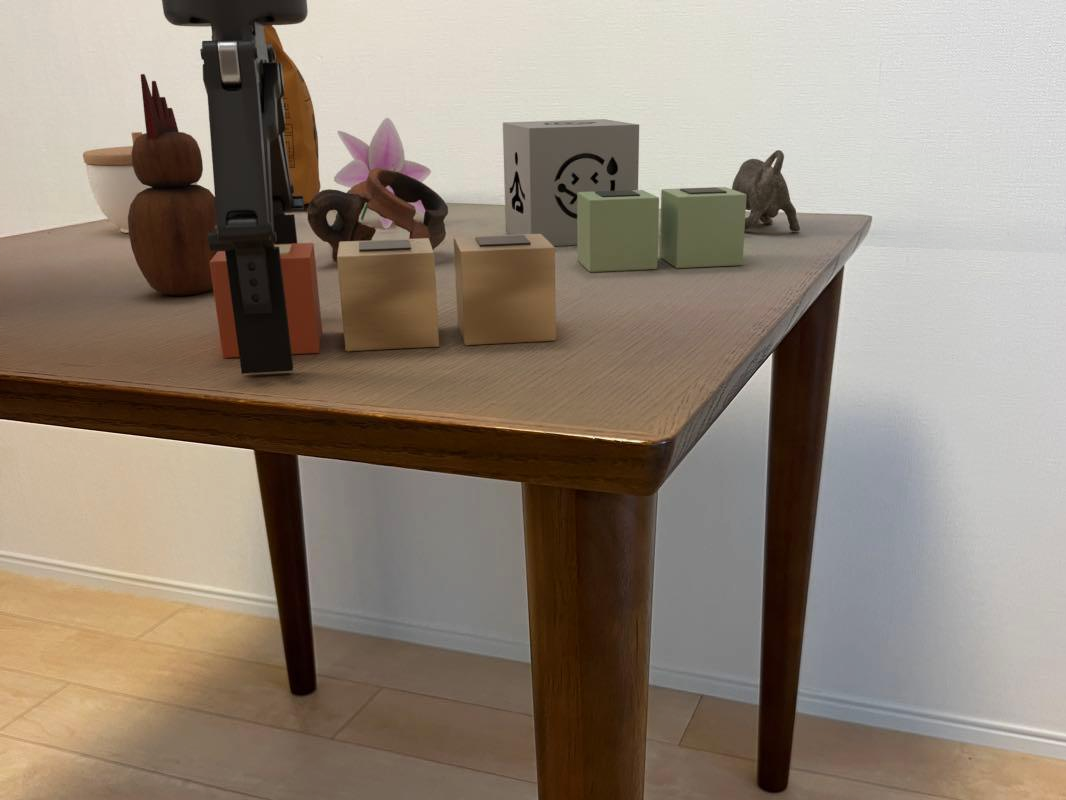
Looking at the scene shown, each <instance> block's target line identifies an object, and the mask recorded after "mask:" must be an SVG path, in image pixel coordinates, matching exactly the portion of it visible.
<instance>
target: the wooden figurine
mask: <svg viewBox="0 0 1066 800" xmlns="http://www.w3.org/2000/svg"><path fill="white" fill-rule="evenodd" d="M140 84H141V94H142V104H143V113H144V114H143V115H144V124H145V125H144V126H145V132H146V133H145V132H144V133H142V135H140V136H139V137H137V138H136V140H135V142H134V143H133V142H132V146H133V148H132V164H133V168H134V172H135V174H136V176H137V178H138V180H139V181H140V182H141V183H142V184H143V185H147V186H150V187H151V188H147V189H145V190H143V191H141V192H140V193H138V194H137V195H136V197H135V198H134V200H133V201H132V203H131V205H130V209H129V214H128V228H129V233H128V235H129V236H128V237H129V242H130V247H131V250H132V253H133V256H134V259H135V261H136V265H137V266H138V268H139V270H140V272H141V273H142V276H143V277H144V279H145V280H146V282H147V283H148V285H149V286H150V288H152V289H153V290H155V291H156V292H158V293H159V294H164V295H168V296H177V297H179V296H181V297H182V296H191V295H193V296H194V295H198V294H202V293H206V292H208V291H209V290H211V289H213V283H212V276H211V268H210V261H211V260H212V258H213V257H214V256H215V254H216V253H217V252H218V251H216V252H211V251H210V247H209V242H208V233H216V231H215V226H217V218H216V204H215V194H213V193H212V192H211V190H210V189H208V188H206V187H204V186H202V185H200V184H198V185H193V183H195V182H198V183H199V181H200V180H201V178H202V176H203V172H204V165H203V164H204V163H203V157H202V151H201V148H200V146H199V144H198V141H197V140H196V139H195V138H194V137H193V136H192V135H191V134H190V133H186V132H183V131H180V130H179V128H178V124H177V120H176V117H175V113H174V109H173V107H168V103H167V99H166V96H160V92H159V88H158V84H157V81H156V80H151V90H150V87H149V83H148V80H147V76H146V74H145V73H140Z"/></svg>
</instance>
